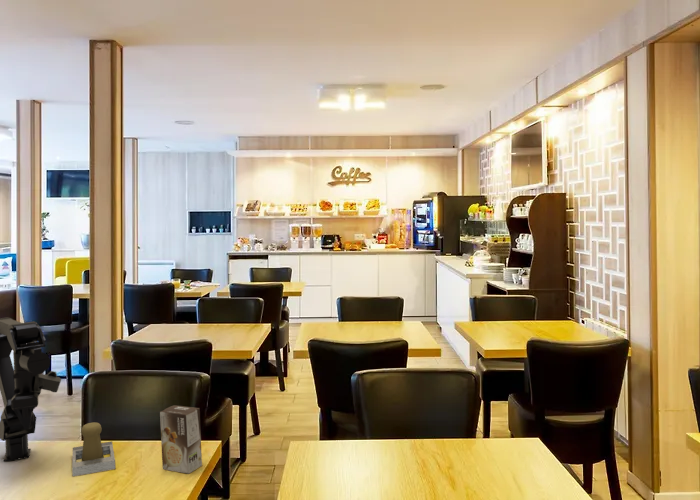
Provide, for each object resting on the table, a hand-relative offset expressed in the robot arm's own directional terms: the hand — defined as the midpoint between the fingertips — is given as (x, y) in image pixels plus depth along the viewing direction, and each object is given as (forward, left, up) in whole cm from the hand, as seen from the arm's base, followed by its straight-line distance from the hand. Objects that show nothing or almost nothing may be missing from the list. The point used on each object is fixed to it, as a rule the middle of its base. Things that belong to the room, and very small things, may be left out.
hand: (28, 423), depth 166 cm
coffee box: (+20, +38, -12) cm, 45 cm away
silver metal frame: (+5, +16, -12) cm, 21 cm away
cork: (+5, +16, -12) cm, 21 cm away
